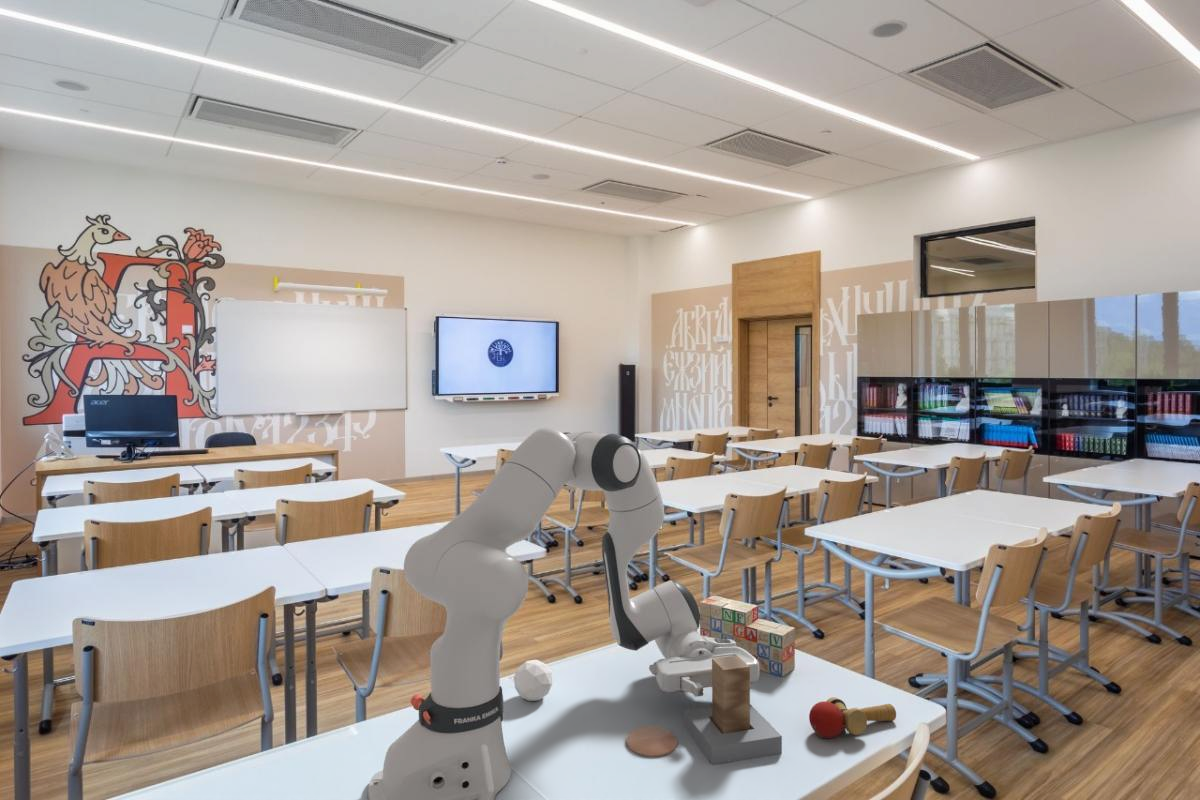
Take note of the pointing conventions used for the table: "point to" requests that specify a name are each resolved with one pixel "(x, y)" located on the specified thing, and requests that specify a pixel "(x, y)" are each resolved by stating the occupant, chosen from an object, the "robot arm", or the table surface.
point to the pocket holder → (732, 737)
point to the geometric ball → (533, 680)
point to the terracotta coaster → (651, 741)
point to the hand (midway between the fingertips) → (723, 689)
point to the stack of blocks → (749, 633)
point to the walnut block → (730, 694)
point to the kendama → (846, 717)
